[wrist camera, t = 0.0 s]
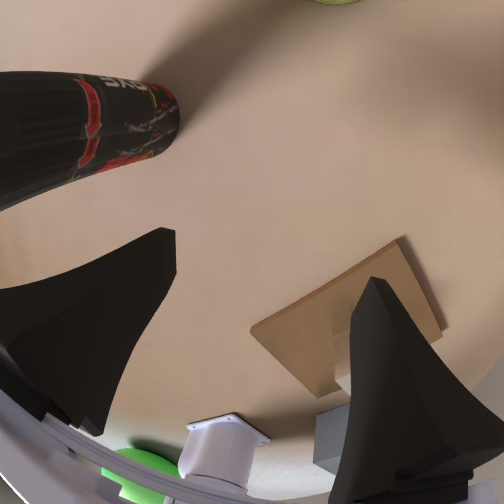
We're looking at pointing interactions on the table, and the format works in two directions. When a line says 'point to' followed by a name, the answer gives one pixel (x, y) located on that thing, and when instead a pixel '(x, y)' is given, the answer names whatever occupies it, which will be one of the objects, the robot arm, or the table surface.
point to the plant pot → (336, 1)
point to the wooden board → (339, 322)
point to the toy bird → (144, 497)
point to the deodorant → (76, 128)
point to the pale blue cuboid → (330, 438)
